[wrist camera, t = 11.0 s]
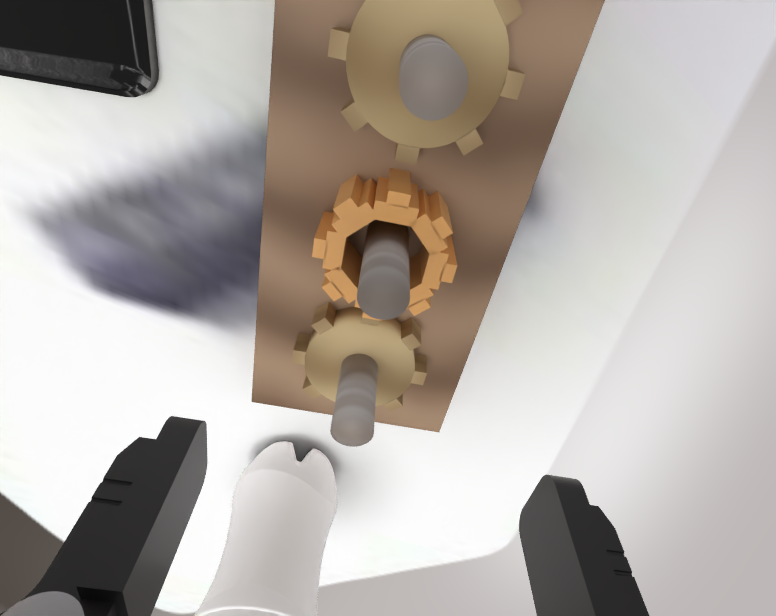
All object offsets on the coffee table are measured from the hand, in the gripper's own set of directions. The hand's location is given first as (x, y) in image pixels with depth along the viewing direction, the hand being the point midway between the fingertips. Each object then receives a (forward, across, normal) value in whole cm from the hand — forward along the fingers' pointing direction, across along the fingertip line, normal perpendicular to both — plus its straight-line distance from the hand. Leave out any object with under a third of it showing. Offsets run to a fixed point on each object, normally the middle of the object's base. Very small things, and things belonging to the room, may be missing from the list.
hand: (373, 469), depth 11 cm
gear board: (+16, 0, 0) cm, 16 cm away
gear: (+14, 0, 0) cm, 14 cm away
